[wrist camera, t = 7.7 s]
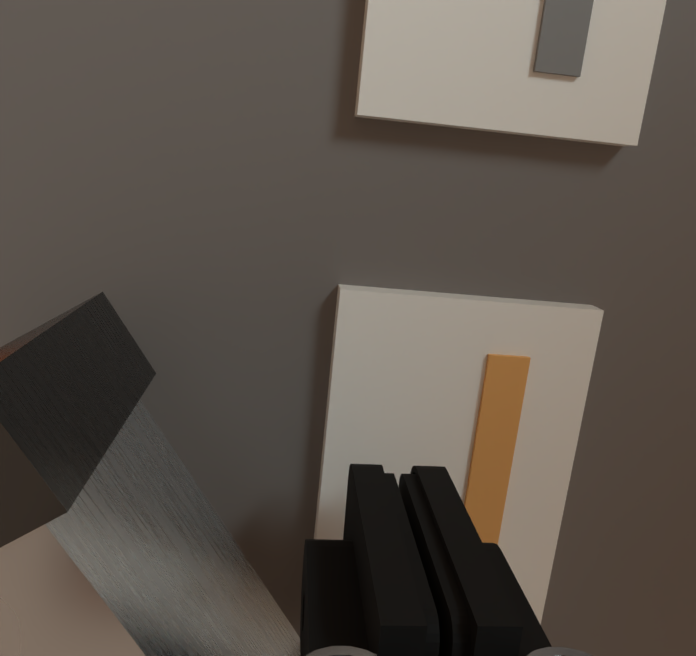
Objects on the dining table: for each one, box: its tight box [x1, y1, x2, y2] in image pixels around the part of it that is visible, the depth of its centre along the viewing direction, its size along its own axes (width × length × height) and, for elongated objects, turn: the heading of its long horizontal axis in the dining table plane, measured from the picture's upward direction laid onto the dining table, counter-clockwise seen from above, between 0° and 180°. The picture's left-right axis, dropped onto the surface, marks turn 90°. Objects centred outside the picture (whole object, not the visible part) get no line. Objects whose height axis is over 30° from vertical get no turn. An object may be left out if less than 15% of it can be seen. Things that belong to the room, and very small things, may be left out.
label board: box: [0, 0, 696, 656], centre depth 13 cm, size 26×18×2 cm
